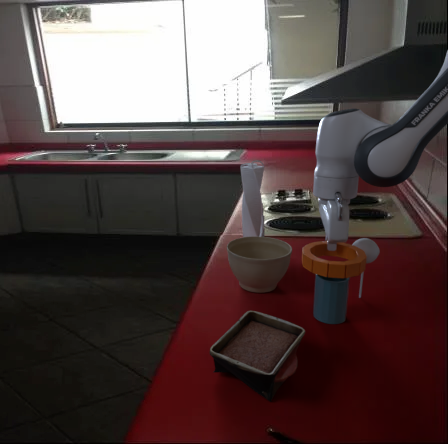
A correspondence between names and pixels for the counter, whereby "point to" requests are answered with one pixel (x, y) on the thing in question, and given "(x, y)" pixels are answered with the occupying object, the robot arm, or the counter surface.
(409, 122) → the robot arm
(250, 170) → the skyscraper
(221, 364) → the baking dish
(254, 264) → the planter bowl
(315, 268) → the ring
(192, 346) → the counter surface
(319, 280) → the cup
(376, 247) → the lollipop
